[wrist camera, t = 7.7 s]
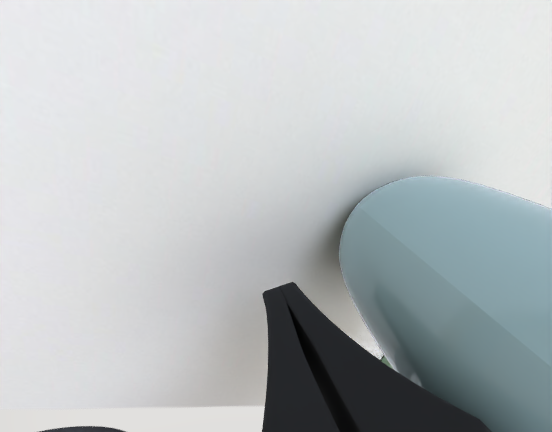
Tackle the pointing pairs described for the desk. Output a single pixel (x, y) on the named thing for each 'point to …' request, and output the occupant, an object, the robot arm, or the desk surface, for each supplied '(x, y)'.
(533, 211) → the cup
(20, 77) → the desk surface
